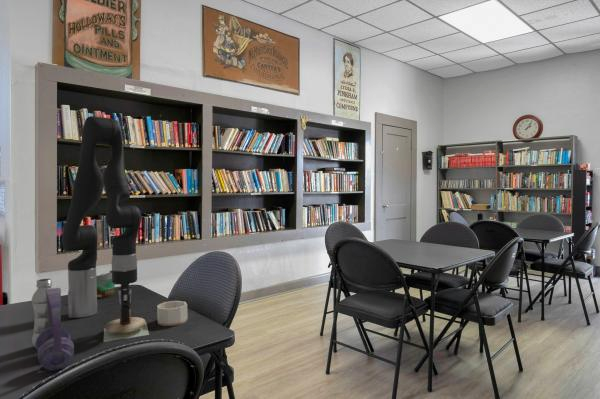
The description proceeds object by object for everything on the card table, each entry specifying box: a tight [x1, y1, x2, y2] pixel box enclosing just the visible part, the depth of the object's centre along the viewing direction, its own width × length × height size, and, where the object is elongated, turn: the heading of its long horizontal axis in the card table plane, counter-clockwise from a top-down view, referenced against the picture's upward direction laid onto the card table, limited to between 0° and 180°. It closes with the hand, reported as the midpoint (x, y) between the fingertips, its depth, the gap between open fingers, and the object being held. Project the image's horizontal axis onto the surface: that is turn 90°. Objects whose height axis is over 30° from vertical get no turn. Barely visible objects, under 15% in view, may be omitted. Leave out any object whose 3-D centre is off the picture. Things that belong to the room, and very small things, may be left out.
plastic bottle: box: [31, 278, 53, 349], centre depth 119 cm, size 6×7×20 cm
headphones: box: [35, 287, 75, 371], centre depth 108 cm, size 18×8×20 cm, turn 36°
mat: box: [103, 321, 150, 343], centre depth 130 cm, size 13×13×1 cm
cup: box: [156, 300, 189, 327], centre depth 140 cm, size 10×10×6 cm
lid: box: [104, 308, 146, 333], centre depth 130 cm, size 12×12×6 cm
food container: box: [96, 270, 116, 299], centre depth 174 cm, size 12×6×10 cm, turn 168°
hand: (125, 320), depth 130 cm, fingers closed on lid, 3 cm apart
